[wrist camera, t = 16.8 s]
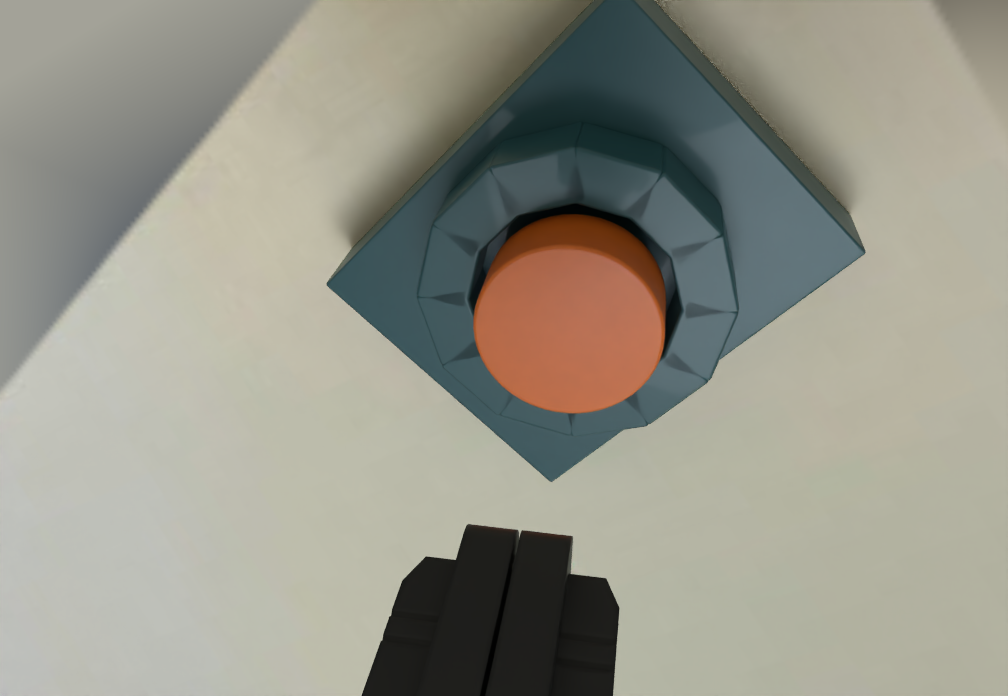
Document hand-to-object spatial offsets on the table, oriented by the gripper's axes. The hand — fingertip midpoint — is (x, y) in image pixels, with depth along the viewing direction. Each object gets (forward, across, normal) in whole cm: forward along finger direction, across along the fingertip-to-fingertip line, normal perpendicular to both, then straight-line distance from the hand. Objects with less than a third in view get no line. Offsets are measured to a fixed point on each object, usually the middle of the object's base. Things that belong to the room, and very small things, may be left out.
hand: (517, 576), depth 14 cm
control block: (+13, 0, 0) cm, 13 cm away
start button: (+9, 0, 0) cm, 9 cm away
